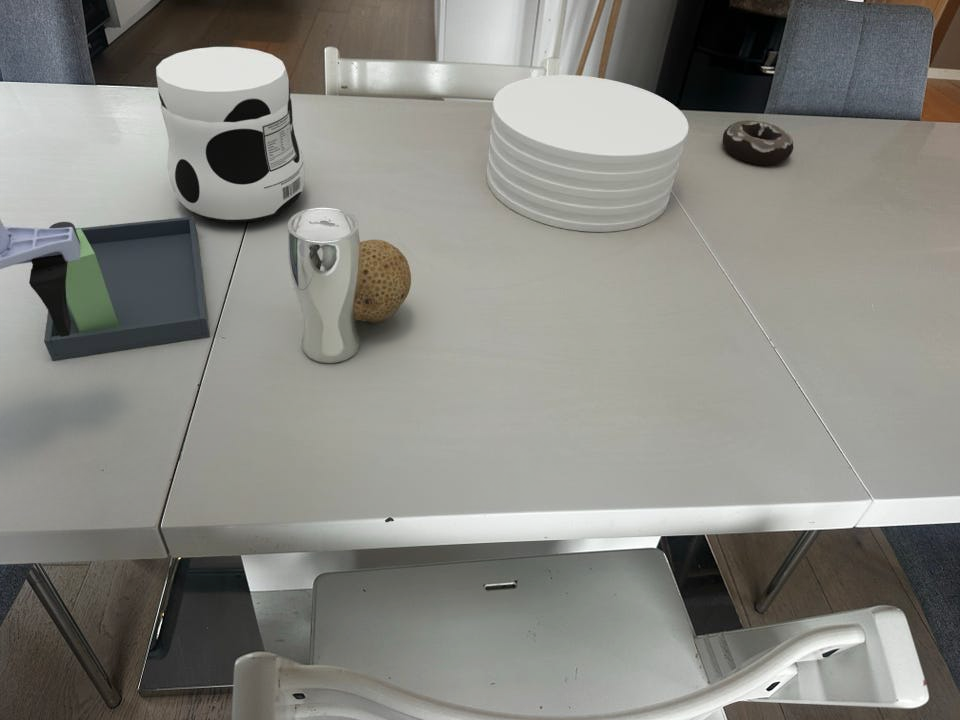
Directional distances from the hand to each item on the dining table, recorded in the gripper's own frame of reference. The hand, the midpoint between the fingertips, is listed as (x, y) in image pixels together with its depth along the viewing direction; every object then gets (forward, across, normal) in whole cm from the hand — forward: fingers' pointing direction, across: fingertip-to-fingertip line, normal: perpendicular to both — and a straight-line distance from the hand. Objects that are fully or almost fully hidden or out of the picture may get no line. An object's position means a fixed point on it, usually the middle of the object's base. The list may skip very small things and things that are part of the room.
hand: (16, 337), depth 60 cm
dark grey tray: (+10, +7, +18) cm, 22 cm away
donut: (+15, +106, +35) cm, 112 cm away
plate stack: (+13, +70, +31) cm, 77 cm away
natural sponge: (+11, +31, +6) cm, 34 cm away
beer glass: (+11, +26, +3) cm, 29 cm away
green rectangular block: (+9, +3, +12) cm, 15 cm away
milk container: (+11, +21, +36) cm, 43 cm away
